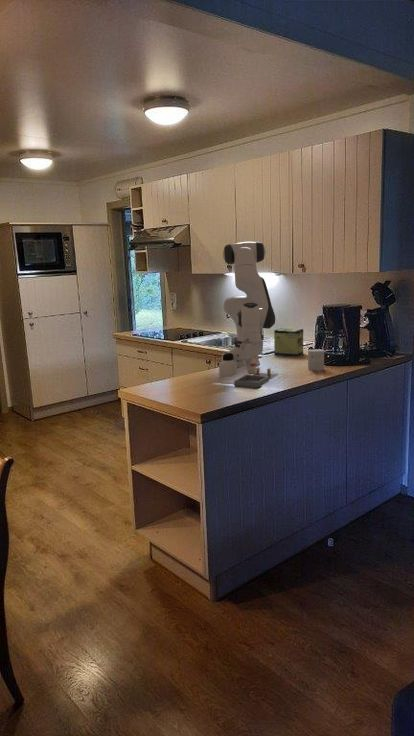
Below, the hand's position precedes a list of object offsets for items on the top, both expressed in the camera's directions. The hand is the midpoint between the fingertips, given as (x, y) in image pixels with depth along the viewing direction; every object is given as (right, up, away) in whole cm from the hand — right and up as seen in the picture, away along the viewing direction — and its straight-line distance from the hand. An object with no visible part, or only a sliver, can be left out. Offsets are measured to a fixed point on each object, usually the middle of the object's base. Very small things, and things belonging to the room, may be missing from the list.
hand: (251, 366), depth 251 cm
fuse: (0, -4, +1) cm, 4 cm away
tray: (0, -9, +2) cm, 9 cm away
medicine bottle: (-10, -5, +22) cm, 25 cm away
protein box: (+30, +7, +75) cm, 81 cm away
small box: (+37, -2, +30) cm, 48 cm away
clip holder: (+7, -6, +15) cm, 18 cm away
